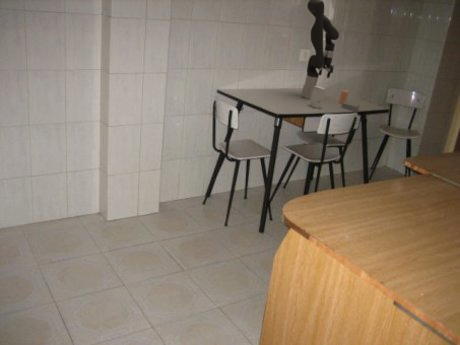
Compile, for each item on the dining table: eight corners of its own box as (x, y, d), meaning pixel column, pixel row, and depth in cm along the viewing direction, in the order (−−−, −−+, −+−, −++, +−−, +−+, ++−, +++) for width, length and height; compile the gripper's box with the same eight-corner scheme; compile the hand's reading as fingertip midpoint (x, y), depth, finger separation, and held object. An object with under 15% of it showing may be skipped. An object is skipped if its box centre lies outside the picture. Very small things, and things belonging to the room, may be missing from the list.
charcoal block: (354, 111, 355) (356, 106, 354) (341, 108, 359) (342, 103, 358) (358, 109, 364) (359, 104, 363) (344, 106, 369) (346, 101, 367)
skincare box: (308, 105, 346) (313, 85, 340) (312, 104, 350) (317, 85, 345) (318, 108, 341) (323, 88, 336) (322, 108, 346) (327, 88, 340)
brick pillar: (344, 104, 372) (347, 92, 368) (338, 103, 373) (341, 90, 370) (345, 103, 375) (348, 91, 372) (340, 102, 377) (343, 90, 374)
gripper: (318, 54, 370) (314, 74, 377) (331, 58, 360) (327, 78, 367) (324, 54, 375) (320, 74, 381) (337, 58, 365) (333, 78, 371)
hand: (323, 76), depth 374 cm, fingers open, 8 cm apart
